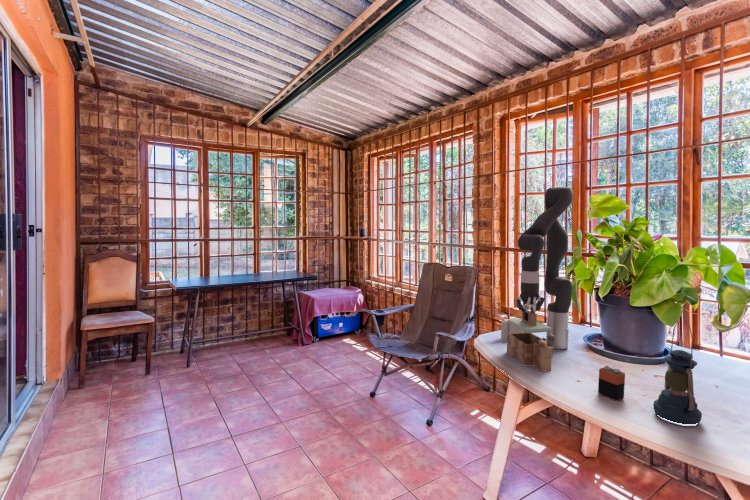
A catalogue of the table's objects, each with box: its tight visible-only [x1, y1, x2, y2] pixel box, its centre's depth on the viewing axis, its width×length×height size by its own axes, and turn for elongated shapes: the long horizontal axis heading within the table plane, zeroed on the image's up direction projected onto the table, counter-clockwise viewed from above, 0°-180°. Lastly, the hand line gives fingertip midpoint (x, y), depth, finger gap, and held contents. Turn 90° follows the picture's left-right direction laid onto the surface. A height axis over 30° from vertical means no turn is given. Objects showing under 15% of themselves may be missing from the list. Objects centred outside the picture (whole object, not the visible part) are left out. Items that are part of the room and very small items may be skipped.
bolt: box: [538, 334, 555, 350], centre depth 158 cm, size 8×3×5 cm, turn 9°
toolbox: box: [506, 332, 553, 372], centre depth 169 cm, size 22×11×12 cm, turn 9°
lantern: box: [653, 307, 703, 424], centre depth 120 cm, size 14×12×35 cm
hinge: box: [500, 318, 526, 343], centre depth 198 cm, size 14×5×10 cm, turn 98°
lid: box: [507, 310, 552, 334], centre depth 171 cm, size 16×11×7 cm
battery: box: [597, 365, 626, 401], centre depth 136 cm, size 4×7×10 cm, turn 26°
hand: (529, 320), depth 171 cm, fingers closed on lid
